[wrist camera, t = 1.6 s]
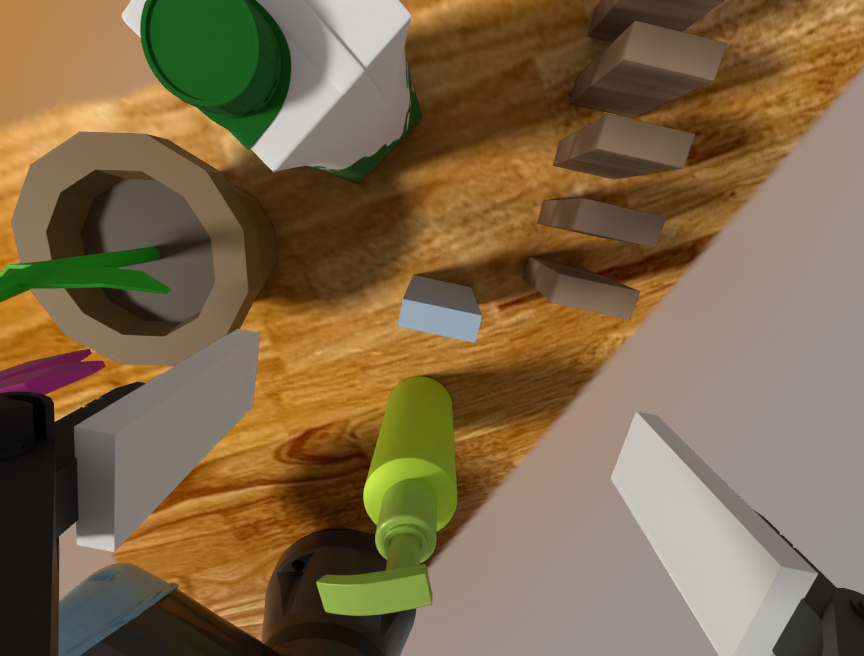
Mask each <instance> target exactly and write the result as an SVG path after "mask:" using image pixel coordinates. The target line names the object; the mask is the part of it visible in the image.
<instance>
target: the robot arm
mask: <svg viewBox="0 0 864 656" xmlns="http://www.w3.org/2000/svg"><path fill="white" fill-rule="evenodd" d="M259 342H260V333H256V332H251V331H247V330H242V329H236V330H235V331H233V332H231V333H230V334H228V335H226V336H225V337H223V338H221V339H220V340H218V341H216V342H215V343H213V344H211V345H210V346H208V347H206V348H205V349H203V350H201V351H200V352H198V353H196V354H195V355H193V356H191V357H190V358H188V359H186V360H185V361H183V362H181V363H180V364H178V365H176V366H175V367H173V368H171V369H169V370H168V371H166V372H164V373H163V374H161V375H159V376H158V377H156V378H154V379H153V380H151V381H149V382H148V383H142V382H135V383H132V384H128V385H125V386H122V387H118V388H115V389H113V390H112V391H110V392H108V393H106V394H104V395H103V396H101V397H99V399H98V400H96V399H95V400H94V401H92V402H90V403H88V404H86V405H85V407H84V408H82V407H81V408H79V409H78V410H76V411H74V412H72V413H70V414H69V415H67V416H65V417H63V418H61V419H60V420H58V421H56V422H55V421H54V403H53V401H52V399H51V398H50V397H48V396H45V395H43V394H40V393H33V392H4V393H0V656H400V654H401V652H402V649H403V647H404V645H405V643H406V640H407V638H408V636H409V633H410V631H411V629H412V626H413V623H414V619H415V614H416V608H414V609H409V610H404V611H398V612H393V613H386V614H379V615H366V616H352V615H341V614H333V613H328V612H326V611H325V610H324V607H323V604H322V601H321V597H320V594H319V591H318V587H317V584H316V582H317V581H318V580H319V579H320V578H322V577H323V576H325V575H359V574H367V573H374V572H380V571H385V570H386V564H387V560H386V559H385V558H384V557H383V556H382V555H381V554H380V553H379V551H378V549H377V547H376V543H375V536H372V535H369V534H366V533H363V532H359V531H353V530H343V529H335V530H326V531H321V532H317V533H313V534H311V535H308V536H306V537H304V538H302V539H300V540H298V541H297V542H295V543H294V544H293V545H291V546H290V547H289V548H288V549H287V550H286V551H285V552H284V554H283V555H282V556H281V558H280V559H279V561H278V563H277V565H276V567H275V570H274V572H273V574H272V576H271V578H270V581H269V584H268V587H267V591H266V598H265V610H264V621H263V633H262V642H261V641H259V640H258V639H256V638H254V637H253V636H251V635H250V634H248V633H246V632H245V631H243V630H241V629H240V628H238V627H236V626H235V625H233V624H232V623H230V622H228V621H227V620H225V619H223V618H222V617H220V616H218V615H217V614H215V613H214V612H212V611H210V610H209V609H207V608H206V607H204V606H203V605H201V604H200V603H198V602H197V601H195V600H193V599H192V598H190V597H189V596H187V595H186V594H184V593H183V592H181V591H179V590H178V589H176V588H178V587H179V585H177V584H176V583H167V582H166V581H164V580H162V579H160V578H158V577H156V576H154V575H153V574H151V573H149V572H147V571H145V570H143V569H141V568H140V567H138V566H136V565H133V564H129V563H117V564H112V565H109V566H107V567H104V568H102V569H100V570H99V571H97V572H95V573H94V574H92V575H91V576H89V577H88V578H87V579H85V580H84V581H83V582H81V583H80V584H79V585H78V586H76V587H75V588H74V589H73V590H71V591H70V592H69V593H68V594H67V595H65V596H64V597H63V598H62V599H60V600H59V536H60V535H61V534H62V533H63V532H64V531H66V530H67V529H68V528H69V527H70V526H71V525H73V524H74V523H75V522H76V528H77V545H80V546H86V547H91V548H96V549H102V550H107V551H112V552H115V551H116V550H117V549H118V548H119V547H120V546H121V544H122V543H123V542H124V541H125V540H126V539H127V538H128V537H129V536H130V535H131V534H132V533H133V532H134V531H135V530H136V529H137V528H138V527H139V526H140V524H141V523H142V522H143V521H144V520H145V519H146V518H147V517H148V516H149V515H150V514H151V513H152V512H153V511H154V510H155V509H156V508H157V507H158V506H159V504H160V503H161V502H162V501H163V500H164V499H165V498H166V497H167V496H168V495H169V494H170V493H171V492H172V491H173V490H174V489H175V488H176V487H177V486H178V484H179V483H180V482H181V481H182V480H183V479H184V478H185V477H186V476H187V475H188V474H189V473H190V472H191V471H192V470H193V469H194V468H195V467H196V466H197V464H198V463H199V462H200V461H201V460H202V459H203V458H204V457H205V456H206V455H207V454H208V453H209V452H210V451H211V450H212V449H213V448H214V447H215V446H216V444H217V443H218V442H219V441H220V440H221V439H222V438H223V437H224V436H225V435H226V434H227V433H228V432H229V431H230V430H231V429H232V428H233V427H234V426H235V424H236V423H237V422H238V421H239V420H240V419H241V418H242V417H243V416H244V415H245V414H246V413H247V412H248V411H249V410H250V409H251V408H252V407H253V399H254V390H255V380H256V370H257V361H258V351H259ZM611 480H612V482H613V483H614V485H615V486H616V488H617V490H618V491H619V493H620V495H621V496H622V498H623V499H624V501H625V503H626V504H627V506H628V508H629V509H630V511H631V513H632V514H633V516H634V517H635V519H636V521H637V522H638V524H639V526H640V527H641V529H642V530H643V532H644V534H645V535H646V537H647V538H648V540H649V542H650V544H651V545H652V546H653V548H654V550H655V552H656V553H657V555H658V557H659V558H660V560H661V562H662V563H663V565H664V566H665V568H666V570H667V571H668V573H669V574H670V576H671V578H672V580H673V581H674V583H675V584H676V586H677V588H678V589H679V591H680V593H681V594H682V596H683V598H684V599H685V601H686V602H687V604H688V606H689V607H690V609H691V611H692V612H693V614H694V615H695V617H696V619H697V620H698V622H699V624H700V625H701V627H702V629H703V630H704V632H705V633H706V635H707V637H708V638H709V640H710V642H711V643H712V645H713V647H714V648H715V650H716V651H717V653H718V655H719V656H771V655H772V653H774V654H775V655H776V656H864V595H863V594H860V593H858V592H856V591H853V590H849V589H845V588H836V587H835V586H834V585H833V584H832V583H831V582H830V581H829V580H828V579H827V578H826V577H825V576H824V575H823V574H822V573H821V572H820V571H819V570H818V569H817V568H816V567H815V566H814V565H813V564H812V563H811V562H810V561H809V560H808V559H807V558H806V557H804V556H803V554H801V553H800V552H799V551H798V550H797V549H796V548H793V545H792V544H791V543H790V542H789V541H788V540H787V539H786V538H785V537H784V536H783V535H780V534H779V533H780V532H779V531H778V530H777V529H776V528H775V527H774V526H773V525H772V524H771V523H770V522H769V521H768V520H766V519H765V518H764V517H763V516H762V515H760V514H759V513H757V512H756V511H755V510H753V509H752V508H751V507H750V506H749V505H748V504H747V503H746V502H745V501H744V500H743V499H741V498H740V496H738V494H737V493H735V492H734V491H733V489H731V488H730V487H729V486H728V485H727V484H726V483H725V482H724V481H723V480H722V479H721V478H720V477H719V476H718V475H717V474H716V473H715V472H714V471H713V470H712V469H711V468H710V467H709V466H708V465H707V464H706V463H705V462H704V461H703V460H702V459H701V458H700V457H699V456H698V455H697V454H696V453H695V452H694V451H693V450H692V449H691V448H690V447H689V446H688V445H687V444H685V443H684V441H683V440H682V439H681V438H680V437H679V436H678V435H677V434H675V432H673V431H672V430H671V429H670V428H669V427H668V426H667V425H666V424H665V423H664V422H663V421H662V420H661V419H660V418H659V417H658V416H656V415H651V414H646V413H641V412H636V414H635V416H634V419H633V421H632V424H631V427H630V429H629V432H628V435H627V438H626V440H625V443H624V445H623V448H622V451H621V453H620V456H619V458H618V461H617V464H616V466H615V469H614V471H613V474H612V477H611Z"/></svg>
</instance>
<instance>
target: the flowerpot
mask: <svg viewBox="0 0 864 656" xmlns="http://www.w3.org/2000/svg"><path fill="white" fill-rule="evenodd" d="M11 223H12V228H13V232H14V237H15V241H16V246H17V250H18V255H19V259H20V264H10V265H7V267H6V268H5V269H4V270H3V271H2V273H1V274H0V302H2V301H5V300H7V299H9V298H12V297H14V296H16V295H18V294H21V293H23V292H25V291H28V290H30V291H31V292H32V293H33V294H34V296H35V297H36V298H37V300H38V301H39V302H40V303H41V305H42V306H43V307H44V308H45V310H46V311H47V312H48V314H49V315H50V316H51V317H52V319H53V320H54V321H55V323H56V324H57V325H58V326H59V328H60V329H61V330H62V331H63V333H64V334H65V335H67V336H69V337H70V338H72V339H74V340H76V341H78V342H80V343H82V344H83V345H85V346H87V347H89V348H91V349H93V350H95V351H97V352H98V353H100V354H102V355H104V356H106V357H108V358H110V359H111V360H113V361H115V362H117V363H119V364H133V365H158V366H176V365H178V364H180V363H181V362H183V361H185V360H186V359H188V358H190V357H191V356H193V355H195V354H196V353H198V352H200V351H201V350H203V349H205V348H206V347H208V346H210V345H211V344H213V343H215V342H216V341H218V340H220V339H221V338H223V337H225V336H226V335H228V334H230V333H231V332H233V331H235V330H236V329H240V327H241V325H242V323H243V321H244V319H245V317H246V316H247V314H248V312H249V310H250V308H251V306H252V304H253V302H254V300H255V298H256V296H257V294H258V293H259V292H260V291H261V290H262V289H263V288H264V286H265V284H266V282H267V280H268V278H269V277H270V275H271V273H272V271H273V269H274V267H275V265H276V263H277V252H276V236H275V229H274V227H273V225H272V224H271V222H270V220H269V219H268V217H267V216H266V214H265V212H264V211H263V209H262V207H261V206H260V204H259V202H258V201H257V200H256V199H255V198H253V197H251V196H250V195H248V194H246V193H245V192H243V191H242V190H240V189H238V188H237V187H235V186H233V185H232V184H230V183H229V182H228V180H227V178H226V177H225V175H224V174H223V173H222V172H220V171H218V170H217V169H215V168H213V167H212V166H210V165H209V164H207V163H205V162H204V161H202V160H200V159H199V158H197V157H196V156H194V155H192V154H191V153H189V152H187V151H186V150H184V149H183V148H181V147H179V146H178V145H176V144H174V143H173V142H171V141H170V140H168V139H164V138H160V137H156V136H152V135H148V134H135V133H105V132H78V133H77V134H76V135H74V136H73V137H71V138H70V139H68V140H67V141H65V142H64V143H62V144H61V145H59V146H58V147H56V148H55V149H53V150H52V151H50V152H49V153H47V154H46V155H44V156H43V157H41V158H40V159H38V160H37V161H35V162H34V163H32V164H31V165H30V167H29V170H28V173H27V176H26V179H25V182H24V185H23V188H22V191H21V194H20V197H19V200H18V203H17V206H16V208H15V211H14V214H13V217H12V220H11ZM90 354H92V353H91V351H90V349H86V350H80V351H75V352H71V353H66V354H61V355H57V356H52V357H48V358H43V359H39V360H34V361H30V362H26V363H23V364H20V365H17V366H15V367H12V368H9V369H6V370H3V371H0V393H4V392H33V393H40V394H43V395H45V394H47V393H50V392H52V391H54V390H57V389H59V388H61V387H64V386H66V385H68V384H70V383H73V382H75V381H77V380H80V379H82V378H84V377H87V376H89V375H91V374H94V373H95V372H97V371H99V370H100V369H102V368H104V367H106V366H105V364H104V362H103V361H86V362H80V361H82V360H83V359H84V358H86V357H87V356H89V355H90Z"/></svg>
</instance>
